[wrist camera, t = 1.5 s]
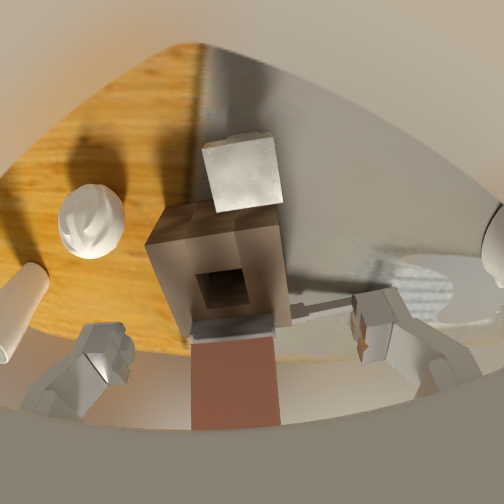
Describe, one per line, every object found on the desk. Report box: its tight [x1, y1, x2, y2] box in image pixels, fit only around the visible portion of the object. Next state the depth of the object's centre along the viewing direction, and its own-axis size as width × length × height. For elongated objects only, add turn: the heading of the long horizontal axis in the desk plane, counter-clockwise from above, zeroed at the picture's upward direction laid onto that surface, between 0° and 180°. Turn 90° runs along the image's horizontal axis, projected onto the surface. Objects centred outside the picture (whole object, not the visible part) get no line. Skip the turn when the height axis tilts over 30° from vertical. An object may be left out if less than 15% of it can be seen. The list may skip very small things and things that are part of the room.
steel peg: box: [202, 131, 283, 213], centre depth 27 cm, size 5×5×9 cm
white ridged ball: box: [58, 184, 125, 259], centre depth 31 cm, size 8×8×8 cm
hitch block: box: [145, 199, 292, 344], centre depth 33 cm, size 12×12×10 cm
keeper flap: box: [191, 336, 281, 430], centre depth 28 cm, size 9×8×1 cm
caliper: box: [290, 290, 398, 325], centre depth 39 cm, size 20×1×6 cm, turn 93°
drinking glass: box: [0, 262, 50, 364], centre depth 33 cm, size 7×7×15 cm
